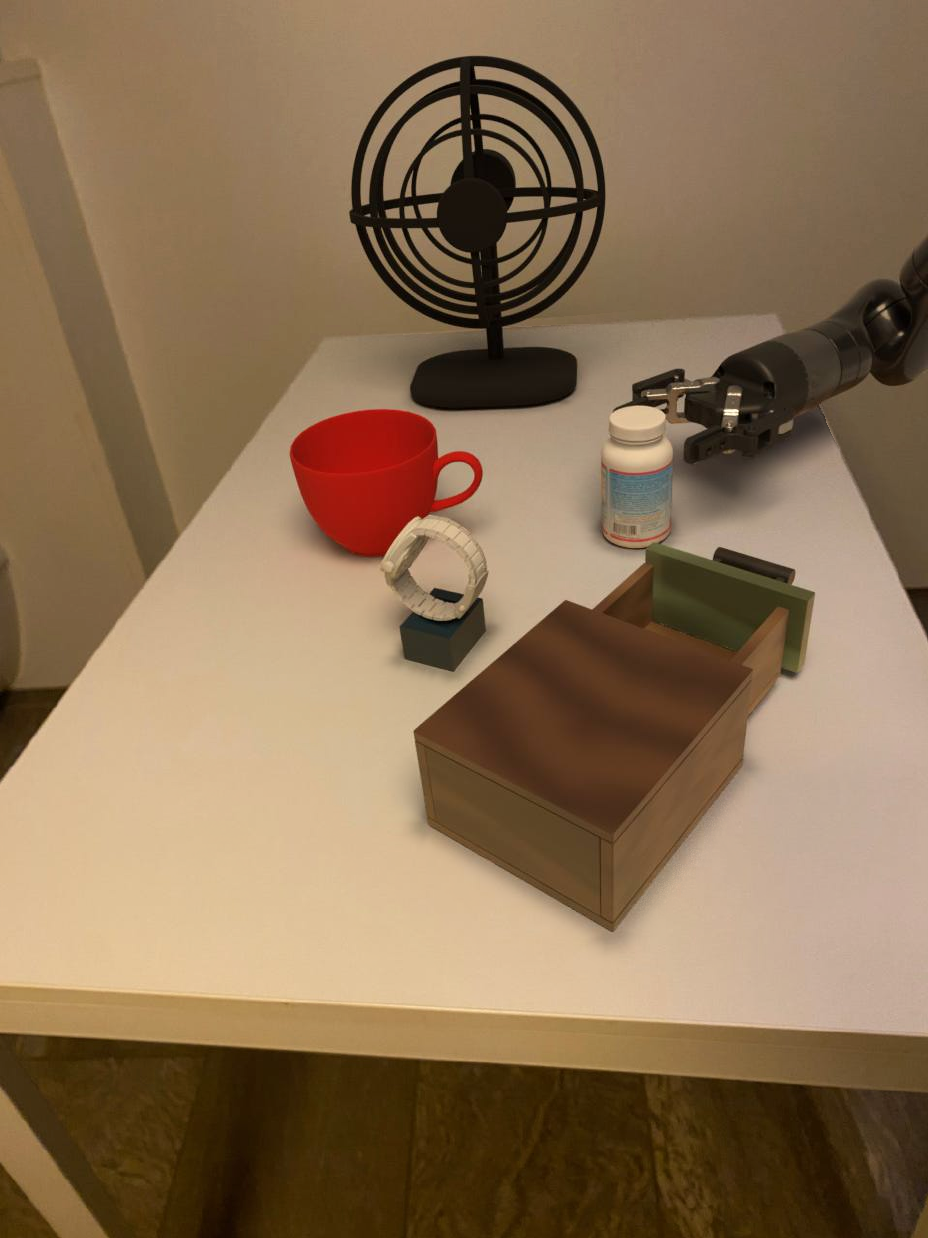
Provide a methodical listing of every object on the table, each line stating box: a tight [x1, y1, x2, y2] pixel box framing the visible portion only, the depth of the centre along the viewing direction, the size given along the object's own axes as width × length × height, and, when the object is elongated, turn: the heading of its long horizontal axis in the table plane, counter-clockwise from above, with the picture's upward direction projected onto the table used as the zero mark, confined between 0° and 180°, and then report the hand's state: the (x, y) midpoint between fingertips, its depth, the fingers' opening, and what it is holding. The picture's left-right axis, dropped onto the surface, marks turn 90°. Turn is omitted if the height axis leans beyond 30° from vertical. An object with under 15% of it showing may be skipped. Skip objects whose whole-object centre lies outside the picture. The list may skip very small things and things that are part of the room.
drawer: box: [591, 542, 816, 716], centre depth 67 cm, size 19×12×6 cm, turn 141°
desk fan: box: [348, 55, 607, 409], centre depth 105 cm, size 27×18×35 cm, turn 84°
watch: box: [379, 514, 490, 672], centre depth 72 cm, size 6×8×11 cm
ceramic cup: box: [289, 408, 484, 557], centre depth 86 cm, size 13×17×10 cm
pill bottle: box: [600, 406, 674, 549], centre depth 83 cm, size 6×6×11 cm
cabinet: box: [412, 599, 753, 932], centre depth 59 cm, size 16×14×8 cm
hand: (649, 436), depth 82 cm, fingers open, 8 cm apart
